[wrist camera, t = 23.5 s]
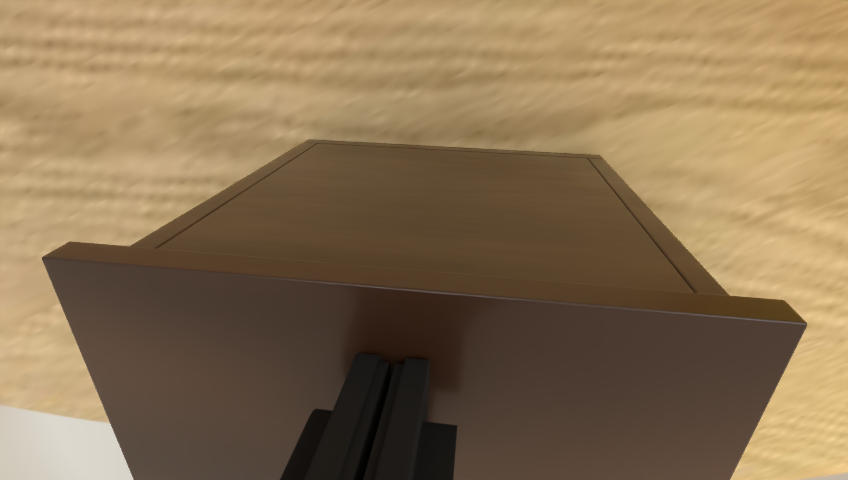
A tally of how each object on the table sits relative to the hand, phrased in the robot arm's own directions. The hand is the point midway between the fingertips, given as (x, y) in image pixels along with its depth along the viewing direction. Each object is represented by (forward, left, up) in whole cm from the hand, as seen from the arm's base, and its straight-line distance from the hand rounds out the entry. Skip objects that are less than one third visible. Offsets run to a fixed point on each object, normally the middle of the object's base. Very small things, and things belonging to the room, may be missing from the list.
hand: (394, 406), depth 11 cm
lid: (+4, 0, -1) cm, 5 cm away
